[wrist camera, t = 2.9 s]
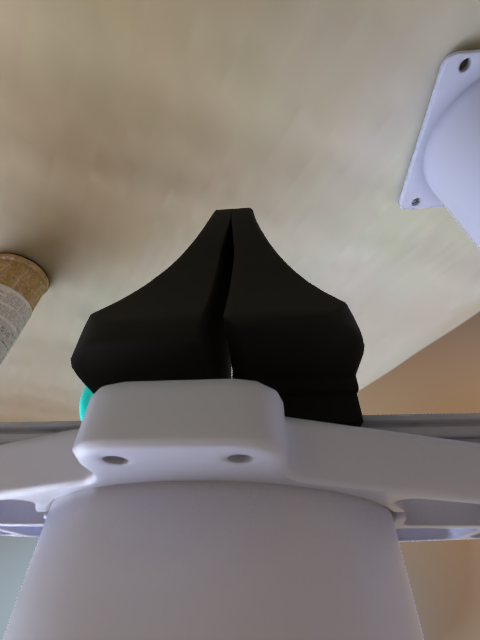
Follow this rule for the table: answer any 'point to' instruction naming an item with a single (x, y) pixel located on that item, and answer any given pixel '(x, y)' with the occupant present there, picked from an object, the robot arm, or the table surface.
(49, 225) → the table surface
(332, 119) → the table surface
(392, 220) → the table surface
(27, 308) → the sprinkles bottle
